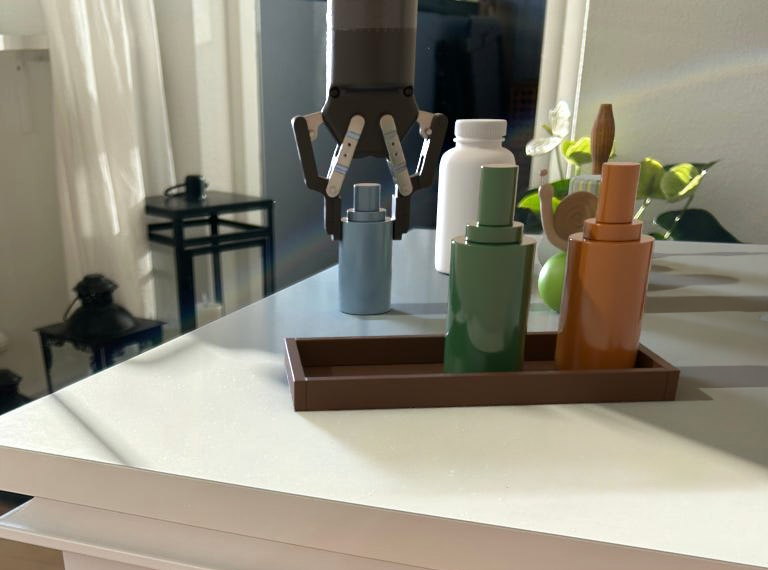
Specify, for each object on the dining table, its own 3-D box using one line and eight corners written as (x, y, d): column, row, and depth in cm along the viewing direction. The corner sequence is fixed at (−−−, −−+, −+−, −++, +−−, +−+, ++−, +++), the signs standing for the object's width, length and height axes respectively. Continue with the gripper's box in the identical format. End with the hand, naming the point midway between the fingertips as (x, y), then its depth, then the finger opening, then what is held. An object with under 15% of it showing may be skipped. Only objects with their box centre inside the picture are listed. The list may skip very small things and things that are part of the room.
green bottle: (510, 369, 75) (531, 161, 68) (530, 390, 71) (555, 169, 64) (435, 371, 75) (448, 162, 68) (450, 393, 70) (466, 170, 63)
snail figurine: (535, 302, 99) (550, 166, 93) (601, 309, 96) (621, 169, 90) (516, 313, 95) (530, 172, 89) (585, 320, 92) (604, 175, 86)
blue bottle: (386, 302, 100) (390, 180, 94) (394, 314, 95) (398, 187, 90) (335, 304, 99) (336, 182, 94) (341, 315, 95) (342, 188, 90)
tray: (615, 366, 79) (621, 329, 77) (673, 411, 69) (680, 370, 67) (284, 375, 78) (284, 337, 76) (294, 422, 68) (294, 380, 66)
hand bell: (583, 264, 116) (603, 106, 108) (539, 253, 123) (554, 103, 115) (640, 258, 119) (664, 103, 111) (594, 247, 126) (613, 101, 118)
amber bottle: (617, 366, 76) (648, 158, 69) (644, 387, 71) (681, 166, 64) (543, 368, 76) (566, 160, 69) (565, 390, 71) (593, 168, 64)
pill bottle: (491, 263, 117) (503, 116, 110) (517, 275, 111) (531, 120, 103) (425, 266, 116) (432, 118, 109) (446, 279, 109) (456, 122, 102)
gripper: (289, 24, 82) (291, 248, 91) (465, 22, 83) (451, 244, 91) (284, 26, 89) (286, 235, 97) (447, 24, 89) (436, 232, 98)
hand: (366, 238), depth 94 cm, fingers closed on blue bottle, 5 cm apart
